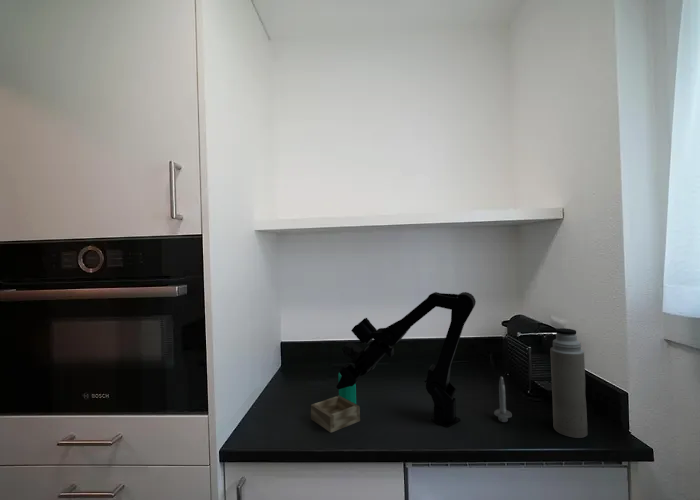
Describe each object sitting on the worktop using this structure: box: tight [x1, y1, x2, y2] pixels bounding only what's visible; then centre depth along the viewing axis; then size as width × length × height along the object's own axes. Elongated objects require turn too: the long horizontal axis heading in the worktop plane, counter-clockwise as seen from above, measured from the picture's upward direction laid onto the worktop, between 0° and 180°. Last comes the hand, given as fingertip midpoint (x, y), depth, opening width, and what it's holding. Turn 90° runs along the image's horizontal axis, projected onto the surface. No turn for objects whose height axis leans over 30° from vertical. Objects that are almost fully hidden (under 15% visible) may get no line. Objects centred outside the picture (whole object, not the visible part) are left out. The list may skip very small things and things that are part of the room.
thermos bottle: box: [549, 327, 588, 439], centre depth 97 cm, size 8×8×28 cm
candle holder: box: [310, 395, 361, 433], centre depth 107 cm, size 11×11×4 cm
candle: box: [337, 372, 357, 404], centre depth 118 cm, size 6×6×12 cm
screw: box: [493, 376, 513, 423], centre depth 104 cm, size 13×5×5 cm
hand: (343, 383), depth 119 cm, fingers open, 9 cm apart
